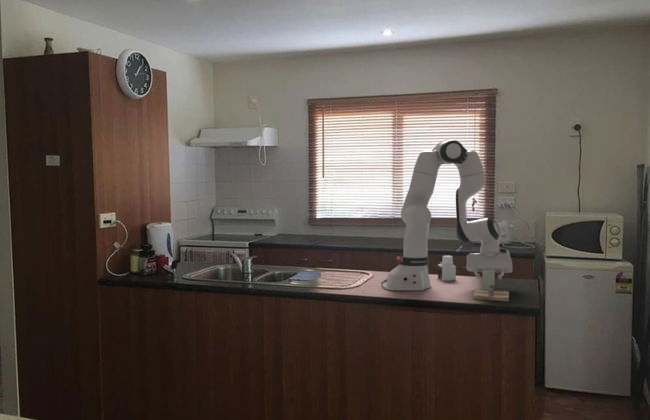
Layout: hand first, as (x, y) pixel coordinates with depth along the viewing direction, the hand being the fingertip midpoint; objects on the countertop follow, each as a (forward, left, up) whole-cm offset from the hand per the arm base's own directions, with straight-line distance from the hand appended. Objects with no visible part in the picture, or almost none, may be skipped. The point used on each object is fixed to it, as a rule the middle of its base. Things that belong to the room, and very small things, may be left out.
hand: (488, 278), depth 251 cm
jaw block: (0, 0, -5) cm, 5 cm away
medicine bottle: (-10, +28, -6) cm, 30 cm away
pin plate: (-4, -13, -5) cm, 14 cm away
